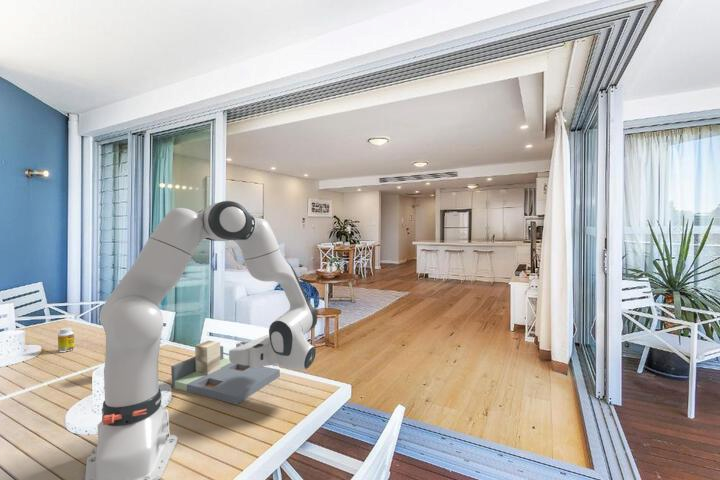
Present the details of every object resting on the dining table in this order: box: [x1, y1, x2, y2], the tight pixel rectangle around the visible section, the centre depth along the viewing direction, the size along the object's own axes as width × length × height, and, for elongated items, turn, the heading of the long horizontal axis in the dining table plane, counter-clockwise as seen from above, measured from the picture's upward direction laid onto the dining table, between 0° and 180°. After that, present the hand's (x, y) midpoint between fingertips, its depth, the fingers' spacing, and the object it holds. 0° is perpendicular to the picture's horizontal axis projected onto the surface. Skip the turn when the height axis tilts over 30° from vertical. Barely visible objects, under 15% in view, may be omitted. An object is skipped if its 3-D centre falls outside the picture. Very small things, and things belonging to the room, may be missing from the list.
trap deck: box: [170, 345, 281, 406], centre depth 121 cm, size 30×22×8 cm
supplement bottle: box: [57, 326, 75, 352], centre depth 154 cm, size 6×6×10 cm
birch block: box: [194, 339, 221, 375], centre depth 125 cm, size 6×6×10 cm
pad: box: [174, 358, 231, 392], centre depth 126 cm, size 6×22×2 cm, turn 156°
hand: (239, 344), depth 118 cm, fingers closed
